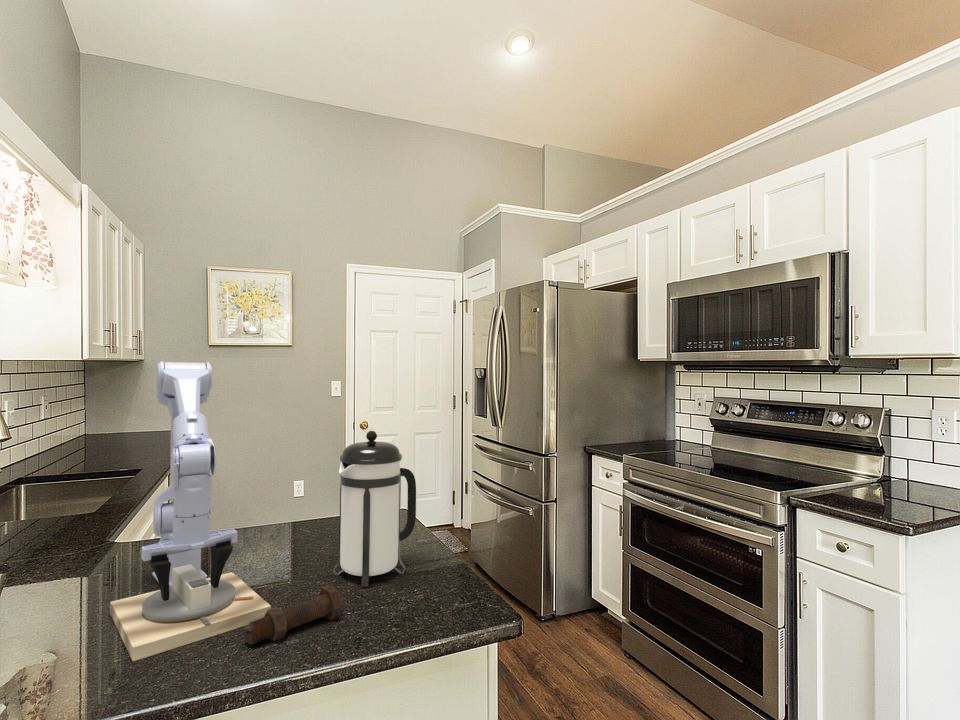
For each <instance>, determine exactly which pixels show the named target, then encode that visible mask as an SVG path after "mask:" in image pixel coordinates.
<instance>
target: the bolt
mask: <svg viewBox="0 0 960 720" xmlns="http://www.w3.org/2000/svg"><path fill="white" fill-rule="evenodd" d="M341 613H342V598H341V595H340V594H339V592H338V590H337V589H336V587H335V586H332V585H329V584H327V585H324V586H322V587H321V589H320V592H319V595H318V596H315V597H313V598H312V599H309V600H306V601H304V602H301V603H299V604H296V605H293V606H291V607H289V608H286V609H282V608H280V607H277V606H274V607H271V609H268V611H267V612H266V614H265V616H264V617H263V618H261V619H259V620H256V621H253V622H250V623H249V624H248V625H246V626H244V628H243V630H244V631H245V634H243V638H244V640H245V642H246V643H247V644H249V645H250V646H251V645H252V646H253V645H255V644H257V643H259V642H262V641H265V640H267V639H270V641H272V642H273V641H274V642H276V641H279V640H281V639H284V637H285V636H286V634H287V632H288V631H289V630H292V629H294V628H297V627H299V626H302V625H304V624H307V623H309V622H312V621H315V620H316V619H321V618H323V617H325V618H326V619H328V620H329V621H333V620H336V619H338V618H339V617H340V615H341Z"/></svg>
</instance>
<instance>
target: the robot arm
mask: <svg viewBox="0 0 960 720" xmlns="http://www.w3.org/2000/svg"><path fill="white" fill-rule="evenodd" d="M155 385H156V398H157V399H158V400H157V401H158V403H159V404H161V405H164V406H166V407H167V409H168V412H169V415H170V462H169V463H170V472H169V476H170V477H169V478H170V479H169V481H170V485H169V486H168V487H166V488H165V489H164V490H162V491H160V492H159V493H158V494H157V495H156V496H155V499H154V506H153V514H152V515H153V521H152V522H153V523H152V524H153V525H152V526H153V527H152V528H153V534H154V535H155V536H157V537H160V539H159V541H158V542H155V543H153V544H152V543H151V544H148V545H143V546H141V560H142V561H143V562H149V564H150V565H151V567H152V570H153V572H152V573H151V574H152V576H153V578H154V579H155V580H156V581H157V583H158V585H159V590H161V598H162V599H163V600H164V601H167V600H169V595H170V594H169V587H171V586H172V568H176V567H180V566H185V565H189V564H191V565H192V566H193V567H194V568H195V569H196V570H197V571H198V572H199V573H200V574H201V575H202V576H203V577H204V578H205V579H206V578H208V575H207V574H206V572H205V571H204V570H202V569H201V568H202V549H204V548H205V549H206V548H209V551H210V561H211V563H210V566H211V567H210V576H209V578H210V580H211V586H212V587H213V588H217V587H218V586H219V581H220V577H221V575H222V574H223V571H224V568H225V566H226V564H227V561H228V559H229V558H230V556H231V554H232V553H233V550H234V549H233V548H234V546H233V545H232V544H234V543H238V531H237V530H236V529H235V528H233V529H226V530H225V529H224V530H217V531H211V526H212V525H211V522H212V521H211V520H212V519H211V517H212V485H213V484H212V477H213V476H214V475H215V472H216V464H217V455H216V454H217V453H216V448H215V444H214V442H213V439H212V438H210V437H211V436H210V429H209V422H208V418H207V417H206V416H205V415H204V414H203V413H201V405H202V404H204V403H206V402H207V401H208V398H209V397H210V393H211V389H212V386H213V366H212V364H211V363H210V362H209V361H205V362H181V361H180V362H175V361H173V362H170V361H164V360H163V361H159V363H157V364H156V384H155ZM169 501H173V502H169Z"/></svg>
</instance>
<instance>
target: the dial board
mask: <svg viewBox="0 0 960 720" xmlns="http://www.w3.org/2000/svg"><path fill="white" fill-rule="evenodd" d="M205 579H206V580H210V577H207V578H205ZM220 581H225V582H229V583H231V584H232V585H233V586H234V587H235V598H234V599H233V601H232V602H231V603H230V604H228V605H227V606H226V607H224V608H222V609H220V610H218V611H216V612H214V613H211V614H209V615H205V616H202V617H199V618H194V619H190V620H184V621H175V622H159V621H153V620H149V619H147V618H145V617H144V616H143V614H142V604H143V602H144V601H145V600H146V599H147V598H148V597H149V596H151V595H152V594H154V593H156V592H158V591H160V589H158V590H153V591H150V592H146V593H141V594H138V595H134V596H129V597H125V598H120V599H117V600H112V601H110V602H109V603H110V604H109V605H110V606H109V614H110V616H111V619H112V621H113V624H114V625H115V628H116V629H117V631H118V633H119V636H120V638H121V640H122V643H124V646H125V648H126V651H127V652H128V654H129V657H130V659H131V661H132V662H136V661H139V660H143V659H146V658H148V657H152V656H155V655H158V654H160V653H164V652H166V651H167V652H168V651H171V650H174V649H176V648H179V647H183V646H185V645H189V644H193V643H195V642H199V641H202V640H205V639H208V638H211V637H214V636H218V635H221V634H224V633H227V632H230V631H233V630H236V629H239V628H243V627H246V626H247V625H248V624H249V623H250V622H253V621H256V620H259V619H261V618H263V617H264V616H265V614H266V612H267V611H268V609H271V608H272V606H271V605H270V603H268V602H267V601H266V600H265V599H263V598H262V597H261V596H260V595H259V594H258V593H256V592H255V590H253V589H252V587H250V586H249V585H247V584H246V583H245V582H244V581H243V580H242V579H240V577H239V576H237V575H236V574H235V573H234V572H232V571H231V572H228V573H222V574H221V577H220Z"/></svg>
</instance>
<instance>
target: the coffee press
mask: <svg viewBox="0 0 960 720" xmlns="http://www.w3.org/2000/svg"><path fill="white" fill-rule="evenodd" d="M365 437H366V440H368V441H362V442H361V441H360V442H355V443H352V444H350V445H347V446H346V447H345V448H344V449H343V452H342V454H341V455H339V461H340V466H339V469H338V474H339V475H340V477H339V481H340V485H339V486H340V487H339V535H338V536H339V538H338V539H339V541H338V544H339V546H338V562H337V563H336V565H335V567H333V568H334V569H332V574H333V576H336V577H337V576H340V574H341V573H343V572H345V573H346V574H349V575H352V576H357V577H361V583H360V584H361V586H360V587H361V588H369V586H370V578H371V577H373V576H374V577H375V576H378V575H383V574H386V573H389V572H390V571H393V570H394V571H396V573H397V574H399V575H403V574H405V572H406V566H405V565H404V563H403V562H402V560H401V542H402V541H404V540H406V539H407V538H408V537H409V536H410V535H411V533H413V532H414V531H413V530H414V527H415V524H416V517H417V482H416V477H415V475H414V473H413V472H412V470H410V469H409V468H404V467H401V461H402V459H403V455H402V454H401V453H400V450H399V448H398V447H397V446H396V445H394V444H392V443H390V442H385V441H376V439H377V437H378V434H377V432H376V431H374V430H370V431H368V432H367V433H366V435H365ZM402 477H404V478H405V480H406V483H407V508H406V509H407V512H406V513H407V514H406V516H407V517H406V519H407V520H406V523H405V526H404V528H403V530H401V501H402V500H401V496H402V495H401V494H402V489H401V488H402V486H401V485H402V482H401V481H402ZM398 562H399V564H400V566H401V567H402V568H403V570H400V569H399V568H397V567H396V566H397V565H398ZM339 564H340V567H341V570H340V571H339V572H337V571H336V568H337V567H338V566H339ZM401 571H403V572H402V573H401Z"/></svg>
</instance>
